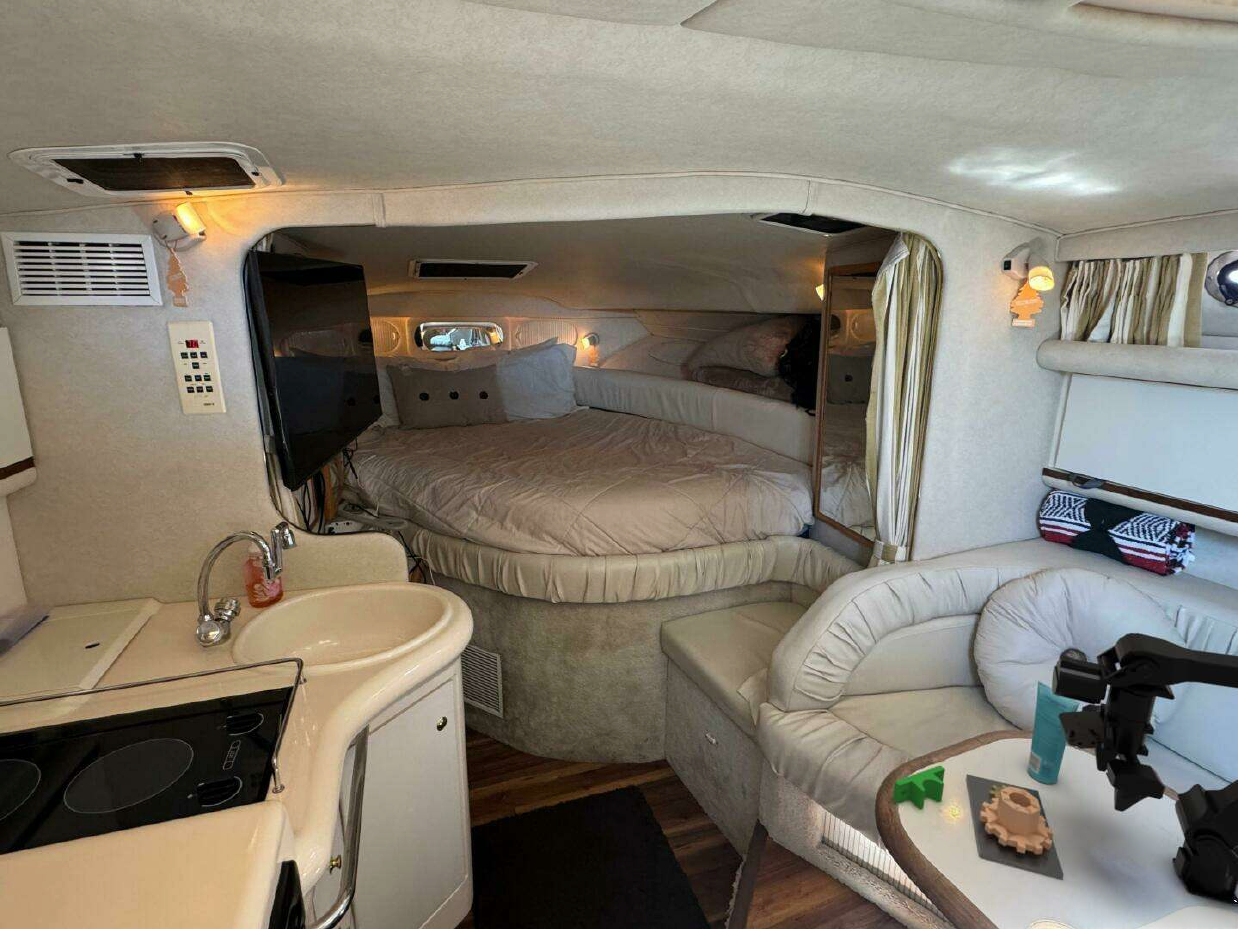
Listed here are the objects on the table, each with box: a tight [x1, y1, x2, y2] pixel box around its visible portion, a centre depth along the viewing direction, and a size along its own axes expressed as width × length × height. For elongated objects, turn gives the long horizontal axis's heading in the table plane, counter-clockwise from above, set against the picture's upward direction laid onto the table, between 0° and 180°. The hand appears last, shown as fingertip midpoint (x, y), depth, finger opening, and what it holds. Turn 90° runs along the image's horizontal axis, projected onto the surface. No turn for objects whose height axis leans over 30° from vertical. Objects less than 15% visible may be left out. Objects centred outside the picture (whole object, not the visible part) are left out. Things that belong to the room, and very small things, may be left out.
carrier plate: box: [965, 773, 1065, 881], centre depth 112 cm, size 12×19×7 cm, turn 158°
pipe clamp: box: [892, 765, 946, 810], centre depth 118 cm, size 11×4×5 cm, turn 110°
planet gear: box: [980, 786, 1054, 854], centre depth 109 cm, size 11×11×6 cm
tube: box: [1027, 681, 1081, 785], centre depth 121 cm, size 7×5×19 cm, turn 32°
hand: (1109, 789), depth 105 cm, fingers open, 9 cm apart
